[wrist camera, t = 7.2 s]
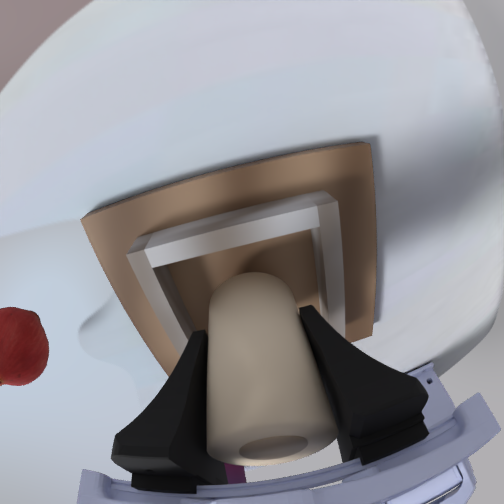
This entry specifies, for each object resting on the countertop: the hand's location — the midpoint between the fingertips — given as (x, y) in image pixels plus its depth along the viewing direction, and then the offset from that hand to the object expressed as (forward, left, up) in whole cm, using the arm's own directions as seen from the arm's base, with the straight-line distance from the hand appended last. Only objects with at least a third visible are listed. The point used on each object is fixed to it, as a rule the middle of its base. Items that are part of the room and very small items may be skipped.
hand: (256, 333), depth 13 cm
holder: (0, 0, -4) cm, 4 cm away
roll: (0, 0, -2) cm, 2 cm away
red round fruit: (+18, -1, -5) cm, 19 cm away
